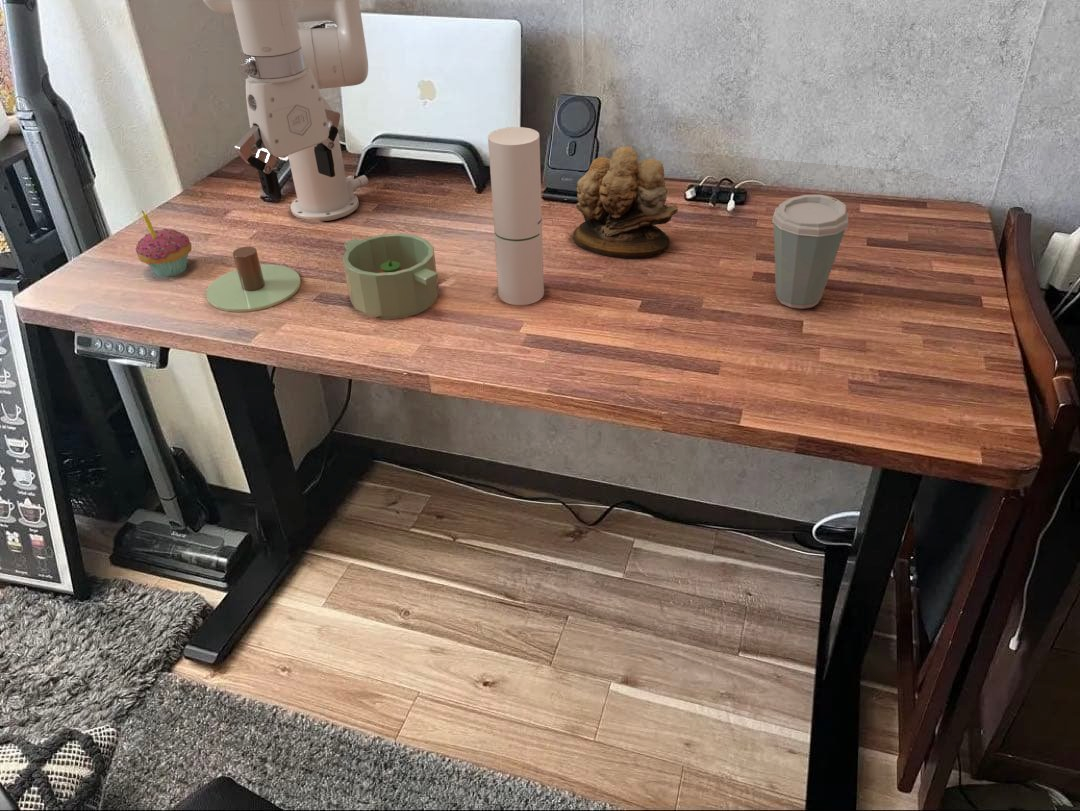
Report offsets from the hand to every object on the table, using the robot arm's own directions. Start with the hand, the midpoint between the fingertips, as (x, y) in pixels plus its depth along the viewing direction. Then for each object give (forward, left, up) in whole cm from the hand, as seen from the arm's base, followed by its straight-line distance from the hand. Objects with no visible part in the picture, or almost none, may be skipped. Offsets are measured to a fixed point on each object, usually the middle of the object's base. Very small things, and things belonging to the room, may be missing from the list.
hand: (300, 185), depth 123 cm
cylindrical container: (-20, +25, -18) cm, 36 cm away
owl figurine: (-44, +27, -18) cm, 54 cm away
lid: (+6, -9, -18) cm, 21 cm away
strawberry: (-7, +10, -18) cm, 21 cm away
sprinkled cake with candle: (+11, -26, -18) cm, 34 cm away
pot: (-7, +10, -18) cm, 22 cm away
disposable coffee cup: (-45, +59, -18) cm, 76 cm away
